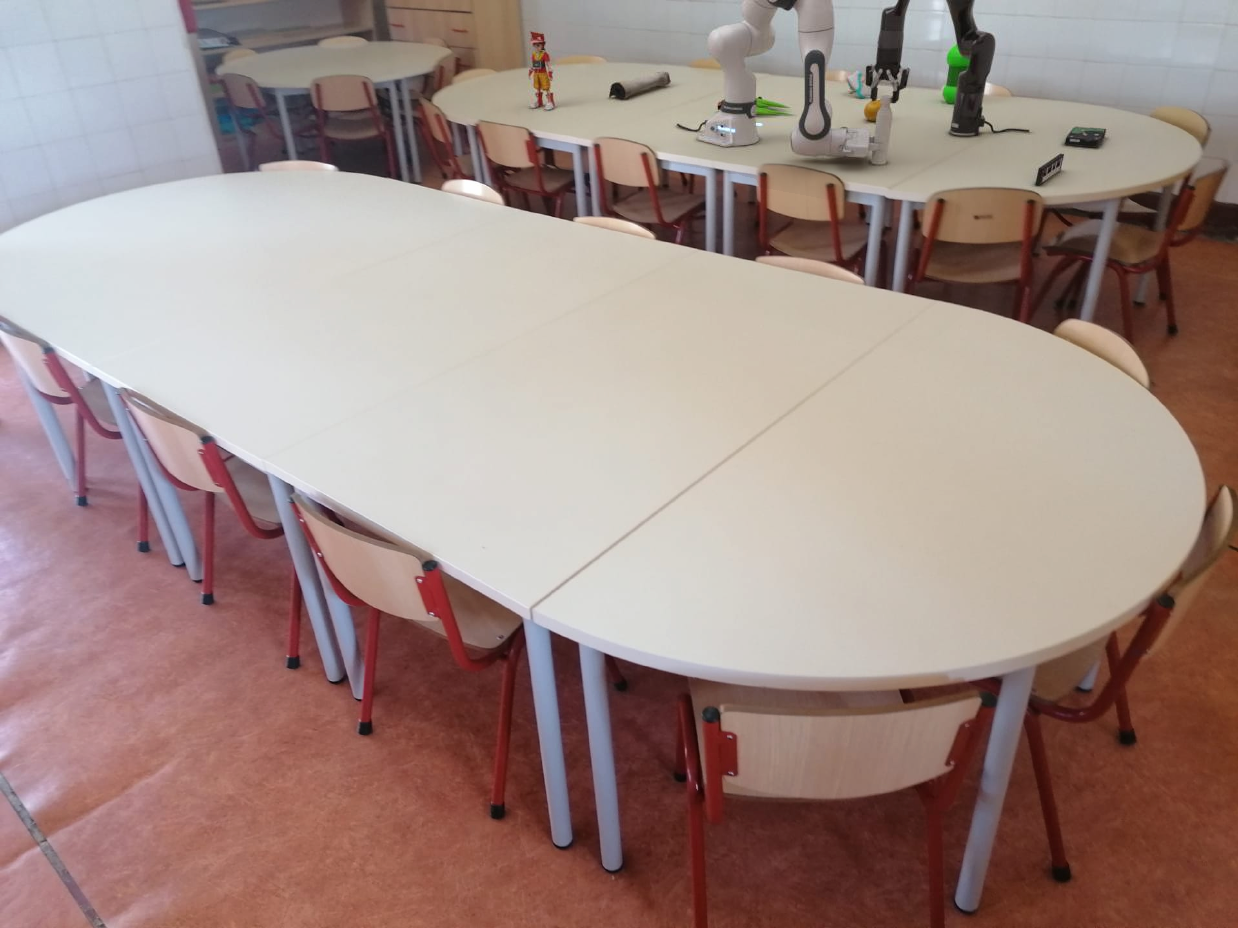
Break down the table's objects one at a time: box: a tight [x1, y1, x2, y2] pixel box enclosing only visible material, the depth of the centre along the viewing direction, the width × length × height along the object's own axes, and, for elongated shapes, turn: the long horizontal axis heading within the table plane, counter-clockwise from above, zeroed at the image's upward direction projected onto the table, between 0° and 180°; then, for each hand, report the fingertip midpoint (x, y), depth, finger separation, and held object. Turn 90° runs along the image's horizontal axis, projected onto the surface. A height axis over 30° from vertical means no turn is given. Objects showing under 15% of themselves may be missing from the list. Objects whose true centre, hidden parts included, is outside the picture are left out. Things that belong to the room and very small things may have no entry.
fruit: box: [863, 99, 882, 122], centre depth 337 cm, size 8×8×8 cm
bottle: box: [870, 103, 894, 166], centre depth 290 cm, size 5×5×20 cm
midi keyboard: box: [1035, 153, 1065, 186], centre depth 273 cm, size 18×1×5 cm, turn 138°
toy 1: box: [527, 31, 556, 111], centre depth 374 cm, size 12×9×30 cm
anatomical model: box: [846, 69, 871, 99], centre depth 370 cm, size 15×10×10 cm
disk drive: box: [1064, 126, 1107, 148], centre depth 303 cm, size 10×3×15 cm
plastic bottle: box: [942, 43, 970, 104], centre depth 348 cm, size 10×10×25 cm
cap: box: [879, 94, 893, 105], centre depth 285 cm, size 4×4×2 cm
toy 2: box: [716, 96, 794, 116], centre depth 357 cm, size 28×5×30 cm
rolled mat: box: [608, 71, 672, 101], centre depth 395 cm, size 30×9×10 cm
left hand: (883, 143), depth 292 cm, fingers closed on bottle, 5 cm apart
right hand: (884, 101), depth 286 cm, fingers open, 6 cm apart
